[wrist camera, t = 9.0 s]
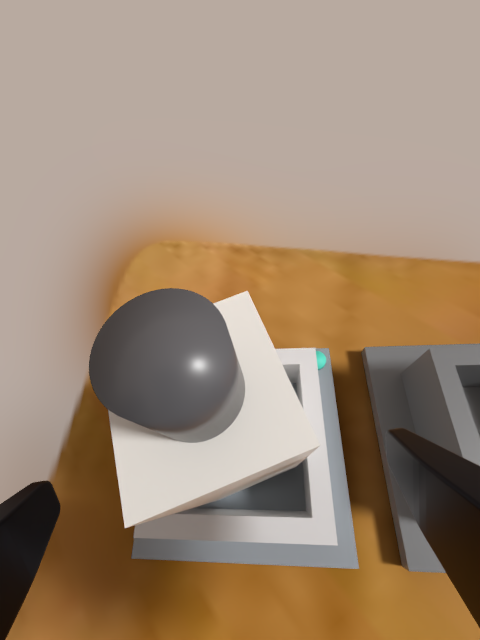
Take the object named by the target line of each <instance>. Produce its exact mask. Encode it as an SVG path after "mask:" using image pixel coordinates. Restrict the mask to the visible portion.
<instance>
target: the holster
mask: <svg viewBox="0 0 480 640" xmlns="http://www.w3.org/2000/svg"><path fill="white" fill-rule="evenodd" d="M361 353H362V359H363V364H364V369H365V374H366V379H367V385H368V390H369V395H370V400H371V406H372V411H373V416H374V421H375V427H376V432H377V437H378V442H379V448H380V453H381V458H382V463H383V469H384V474H385V479H386V484H387V490H388V495H389V500H390V505H391V511H392V516H393V521H394V526H395V532H396V537H397V542H398V547H399V553H400V558H401V563H402V567H404V568H405V569H407V570H408V571H418V572H440V573H446V571H445V570H444V568H443V567H442V565H441V563H440V562H439V560H438V558H437V557H436V555H435V553H434V552H433V550H432V548H431V547H430V545H429V543H428V542H427V540H426V538H425V537H424V535H423V533H422V532H421V530H420V528H419V526H418V524H417V522H416V520H415V518H414V516H413V514H412V512H411V510H410V508H409V506H408V504H407V502H406V500H405V498H404V496H403V493H402V491H401V489H400V487H399V485H398V483H397V481H396V479H395V477H394V475H393V473H392V471H391V469H390V467H389V464H388V461H387V455H386V431H387V430H389V429H395V428H405V429H407V430H409V431H411V432H413V433H415V434H417V435H419V436H421V437H423V438H425V439H427V440H429V441H431V442H433V443H435V444H437V445H439V446H441V447H443V448H445V449H447V450H449V451H451V452H453V453H455V454H457V455H459V456H461V457H463V458H465V459H467V460H469V461H471V462H473V463H475V464H477V465H479V466H480V344H454V345H421V346H388V347H365V348H364V349H363V351H362V352H361Z"/></svg>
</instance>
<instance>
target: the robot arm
mask: <svg viewBox="0 0 480 640" xmlns="http://www.w3.org/2000/svg"><path fill="white" fill-rule="evenodd" d="M386 455H387V461H388V464H389V467H390V469H391V471H392V473H393V475H394V477H395V479H396V481H397V483H398V485H399V487H400V489H401V491H402V493H403V496H404V498H405V500H406V502H407V504H408V506H409V508H410V510H411V512H412V514H413V516H414V518H415V520H416V522H417V524H418V526H419V528H420V530H421V532H422V533H423V535H424V537H425V538H426V540H427V542H428V543H429V545H430V547H431V548H432V550H433V552H434V553H435V555H436V557H437V558H438V560H439V562H440V563H441V565H442V567H443V568H444V570H445V571H446V573H447V575H448V576H449V578H450V580H451V581H452V583H453V585H454V586H455V588H456V590H457V591H458V593H459V595H460V596H461V598H462V600H463V601H464V603H465V604H466V606H467V608H468V609H469V611H470V613H471V614H472V616H473V618H474V619H475V621H476V623H477V624H478V626H479V628H480V466H479V465H477V464H475V463H473V462H471V461H469V460H467V459H465V458H463V457H461V456H459V455H457V454H455V453H453V452H451V451H449V450H447V449H445V448H443V447H441V446H439V445H437V444H435V443H433V442H431V441H429V440H427V439H425V438H423V437H421V436H419V435H417V434H415V433H413V432H411V431H409V430H407V429H405V428H395V429H389V430H387V431H386ZM59 513H60V503H59V500H58V498H57V495H56V493H55V491H54V488H53V486H52V484H51V483H50V482H49V481H40V482H35V483H31V484H30V485H28V486H27V487H25V488H24V489H22V490H21V491H19V492H18V493H16V494H15V495H13V496H12V497H10V498H9V499H7V500H6V501H4V502H3V503H1V504H0V640H5V639H6V637H7V635H8V633H9V631H10V629H11V627H12V625H13V623H14V621H15V618H16V616H17V614H18V612H19V610H20V608H21V606H22V604H23V602H24V600H25V598H26V595H27V593H28V591H29V589H30V587H31V585H32V582H33V580H34V578H35V575H36V573H37V570H38V568H39V565H40V563H41V560H42V558H43V555H44V552H45V550H46V547H47V545H48V542H49V540H50V537H51V534H52V532H53V529H54V527H55V524H56V521H57V519H58V516H59Z"/></svg>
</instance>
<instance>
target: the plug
mask: <svg viewBox="0 0 480 640" xmlns="http://www.w3.org/2000/svg"><path fill="white" fill-rule="evenodd" d="M89 375H90V380H91V384H92V387H93V390H94V392H95V394H96V396H97V397H98V399H99V400H100V401H101V403H102V404H103V405H104V406H105V407H106V408H107V409H108V413H109V420H110V427H111V434H112V441H113V448H114V455H115V462H116V469H117V476H118V483H119V490H120V497H121V505H122V512H123V519H124V526H125V528H128V527H131V526H134V525H138V524H141V523H144V522H148V521H151V520H154V519H158V518H161V517H164V516H168V515H171V514H174V513H178V512H181V511H184V510H188V509H191V508H194V507H198V506H201V505H204V504H208V503H211V502H214V501H218V500H220V499H223V498H225V497H227V496H230V495H232V494H234V493H237V492H239V491H241V490H244V489H246V488H248V487H251V486H253V485H255V484H258V483H260V482H262V481H265V480H267V479H269V478H272V477H274V476H276V475H279V474H281V473H283V472H286V471H288V470H290V469H293V468H295V467H296V466H298V465H299V464H300V463H301V462H302V461H303V460H304V459H306V458H307V457H308V456H309V455H310V454H311V453H312V452H314V451H315V450H316V449H317V448H318V447H319V446H320V444H319V442H318V439H317V437H316V435H315V433H314V431H313V429H312V427H311V425H310V422H309V420H308V418H307V416H306V414H305V412H304V410H303V408H302V405H301V403H300V401H299V399H298V397H297V395H296V393H295V391H294V388H293V386H292V384H291V382H290V380H289V378H288V376H287V374H286V372H285V369H284V367H283V365H282V363H281V361H280V359H279V357H278V355H277V352H276V350H275V348H274V346H273V344H272V342H271V340H270V338H269V335H268V333H267V331H266V329H265V327H264V325H263V323H262V321H261V318H260V316H259V314H258V312H257V310H256V308H255V306H254V304H253V301H252V299H251V297H250V295H249V293H248V291H246V292H243V293H240V294H238V295H235V296H232V297H230V298H227V299H224V300H222V301H219V302H216V303H214V304H213V303H212V302H210V301H209V300H208V299H206V298H205V297H203V296H201V295H199V294H197V293H195V292H192V291H188V290H184V289H172V288H169V289H160V290H155V291H151V292H148V293H144V294H142V295H140V296H137V297H135V298H134V299H132V300H130V301H128V302H127V303H125V304H124V305H123V306H121V307H120V308H119V309H118V310H116V311H115V312H114V313H113V314H112V315H111V316H110V317H109V319H108V320H107V321H106V322H105V324H104V325H103V326H102V328H101V329H100V331H99V333H98V335H97V337H96V339H95V341H94V344H93V347H92V350H91V354H90V361H89Z"/></svg>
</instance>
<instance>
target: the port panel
mask: <svg viewBox="0 0 480 640" xmlns="http://www.w3.org/2000/svg"><path fill="white" fill-rule="evenodd" d="M275 350H276V352H277V355H278V357H279V359H280V361H281V363H282V365H283V367H284V369H285V372H286V374H287V376H288V378H289V380H290V382H291V384H292V386H293V388H294V391H295V393H296V395H297V397H298V399H299V401H300V403H301V405H302V408H303V410H304V412H305V414H306V416H307V418H308V420H309V422H310V425H311V427H312V429H313V431H314V433H315V435H316V437H317V439H318V442H319V444H320V446H319V447H318V448H317V449H316V450H315V451H314V452H312V453H311V454H310V455H309V456H308V457H307V458H306V459H304V460H303V461H302V462H301V463H300V464H299V465H298V466H296V467H295V468H293V469H290V470H288V471H286V472H283V473H281V474H279V475H276V476H274V477H272V478H269V479H267V480H265V481H262V482H260V483H258V484H255V485H253V486H251V487H248V488H246V489H244V490H241V491H239V492H237V493H234V494H232V495H230V496H227V497H225V498H223V499H220V500H218V501H214V502H211V503H208V504H204V505H201V506H198V507H194V508H191V509H188V510H184V511H181V512H178V513H174V514H171V515H168V516H164V517H161V518H158V519H154V520H151V521H148V522H144V523H141V524H138V525H135V530H134V536H133V538H134V543H133V550H132V556H131V558H132V559H154V560H176V561H198V562H220V563H242V564H264V565H286V566H308V567H330V568H352V569H359V566H358V559H357V551H356V544H355V537H354V529H353V522H352V515H351V507H350V500H349V493H348V485H347V478H346V471H345V463H344V456H343V449H342V441H341V434H340V427H339V419H338V412H337V405H336V397H335V390H334V383H333V375H332V368H331V361H330V353H329V348H322V349H315V348H292V349H275Z"/></svg>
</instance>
